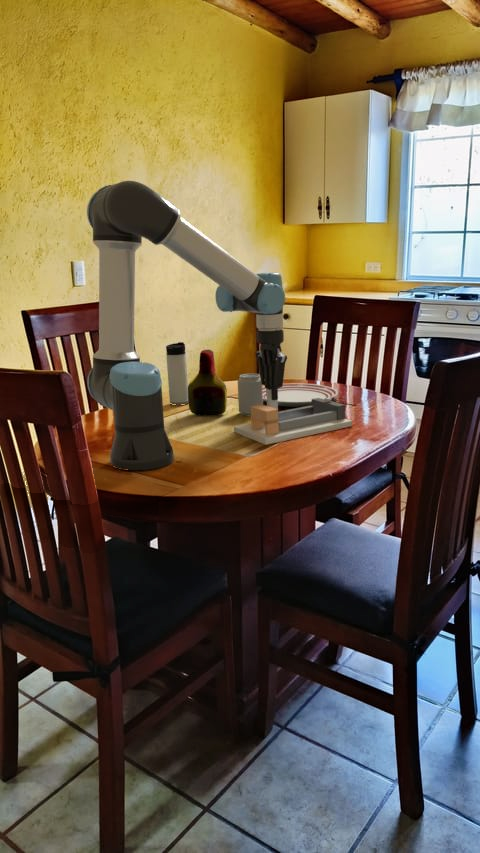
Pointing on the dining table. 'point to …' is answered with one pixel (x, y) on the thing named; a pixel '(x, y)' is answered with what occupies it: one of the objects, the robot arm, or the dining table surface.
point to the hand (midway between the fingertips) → (272, 410)
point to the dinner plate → (301, 394)
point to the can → (249, 392)
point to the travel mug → (177, 373)
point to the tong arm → (295, 413)
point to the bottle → (207, 389)
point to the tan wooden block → (264, 418)
